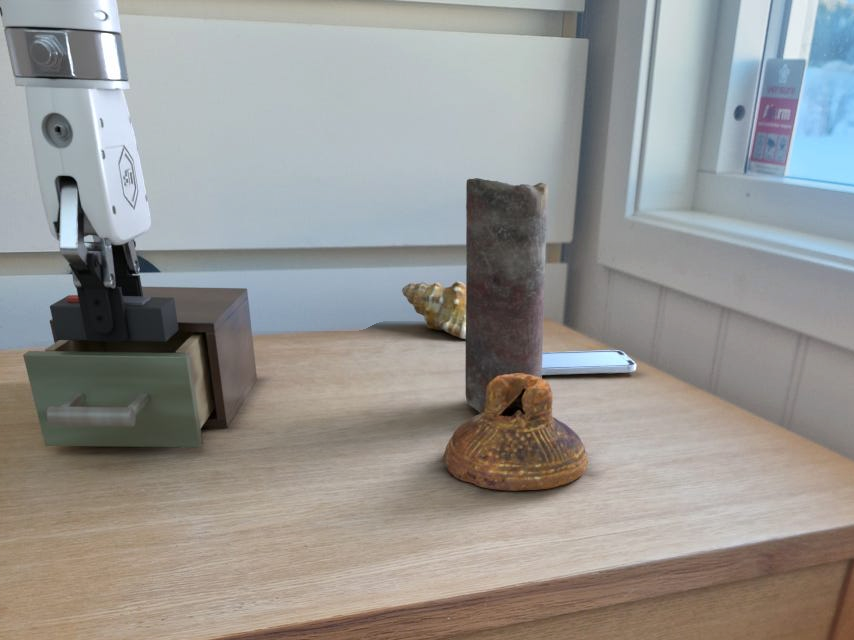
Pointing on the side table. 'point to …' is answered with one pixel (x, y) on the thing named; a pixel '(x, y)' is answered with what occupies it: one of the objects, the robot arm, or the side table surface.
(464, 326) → the seashell
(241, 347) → the cabinet
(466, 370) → the candle
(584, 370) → the smartphone
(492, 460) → the bell
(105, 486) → the side table surface
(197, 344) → the drawer
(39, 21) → the robot arm
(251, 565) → the side table surface
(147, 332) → the remote
